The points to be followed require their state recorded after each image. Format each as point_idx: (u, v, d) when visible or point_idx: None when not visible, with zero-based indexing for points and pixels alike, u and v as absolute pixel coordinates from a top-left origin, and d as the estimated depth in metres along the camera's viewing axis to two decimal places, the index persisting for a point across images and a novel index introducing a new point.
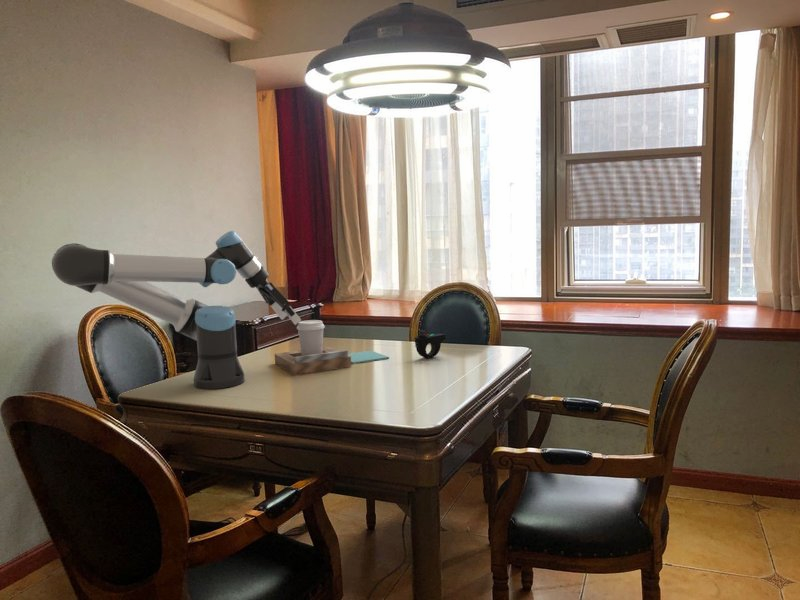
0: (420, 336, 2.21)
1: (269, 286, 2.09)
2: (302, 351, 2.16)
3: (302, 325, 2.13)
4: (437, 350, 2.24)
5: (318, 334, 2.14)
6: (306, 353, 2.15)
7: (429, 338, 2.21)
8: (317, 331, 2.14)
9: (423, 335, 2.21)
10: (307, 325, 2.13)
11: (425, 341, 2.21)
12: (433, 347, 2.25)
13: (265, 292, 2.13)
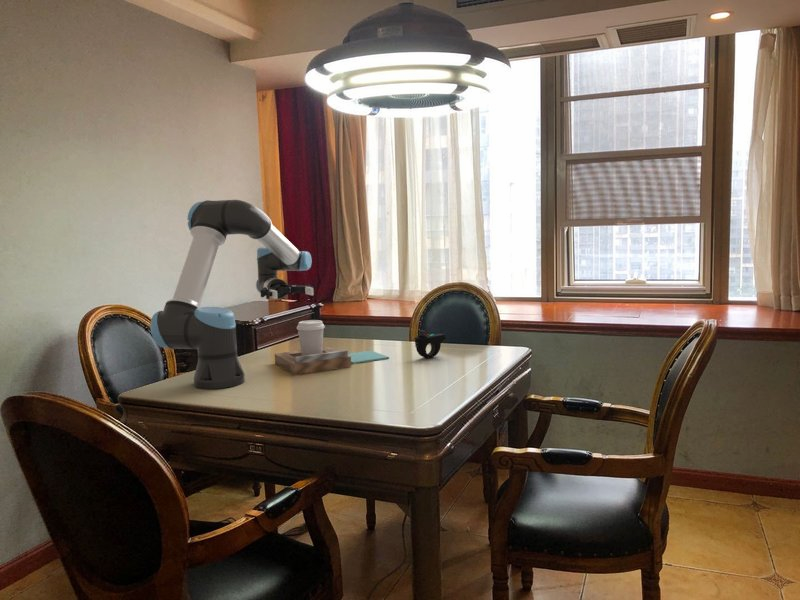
0: (420, 336, 2.21)
1: None
2: (302, 351, 2.16)
3: (302, 325, 2.13)
4: (437, 350, 2.24)
5: (318, 334, 2.14)
6: (306, 353, 2.15)
7: (429, 338, 2.21)
8: (317, 331, 2.14)
9: (423, 335, 2.21)
10: (307, 325, 2.13)
11: (425, 341, 2.21)
12: (433, 347, 2.25)
13: (288, 285, 2.41)
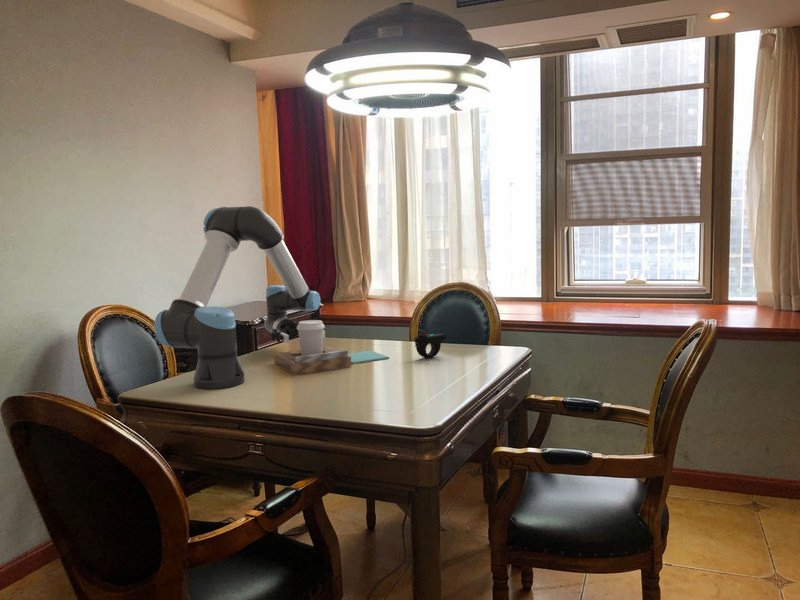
0: (420, 336, 2.21)
1: None
2: (302, 351, 2.16)
3: (302, 325, 2.13)
4: (437, 350, 2.24)
5: (318, 334, 2.14)
6: (306, 353, 2.15)
7: (429, 338, 2.21)
8: (317, 331, 2.14)
9: (423, 335, 2.21)
10: (307, 325, 2.13)
11: (425, 341, 2.21)
12: (433, 347, 2.25)
13: None
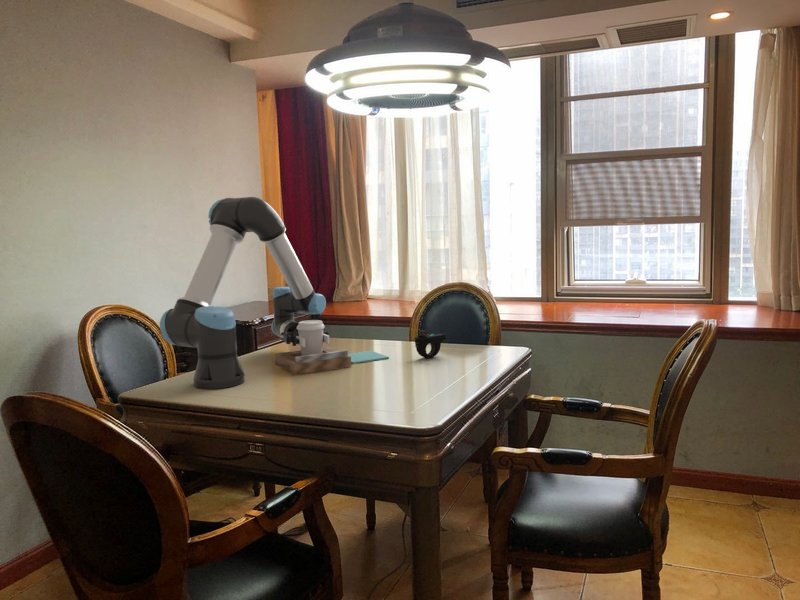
0: (420, 336, 2.21)
1: None
2: (302, 351, 2.16)
3: (302, 325, 2.13)
4: (437, 350, 2.24)
5: (318, 334, 2.14)
6: (306, 353, 2.15)
7: (429, 338, 2.21)
8: (317, 331, 2.14)
9: (423, 335, 2.21)
10: (307, 325, 2.13)
11: (425, 341, 2.21)
12: (433, 347, 2.25)
13: None
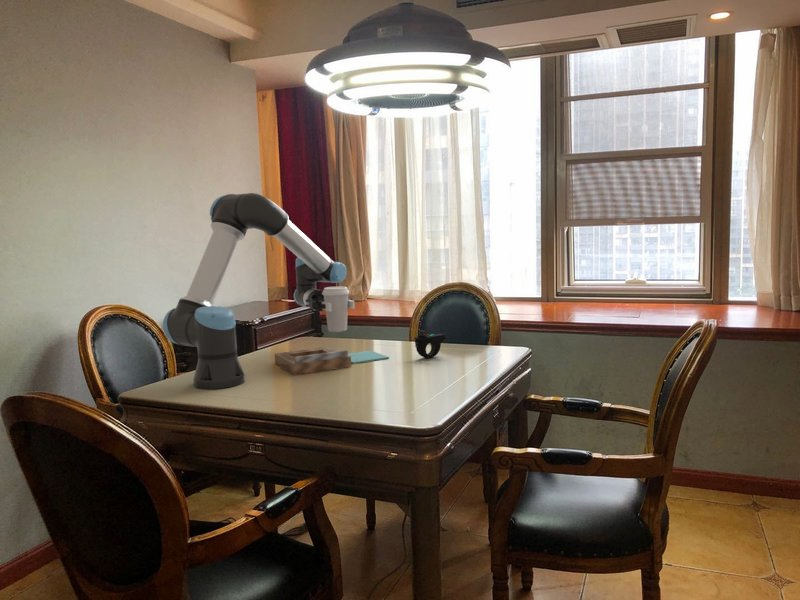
0: (420, 336, 2.21)
1: None
2: (328, 316, 2.20)
3: (328, 290, 2.18)
4: (437, 350, 2.24)
5: (343, 299, 2.19)
6: (332, 318, 2.19)
7: (429, 338, 2.21)
8: (343, 297, 2.18)
9: (423, 335, 2.21)
10: (333, 290, 2.17)
11: (425, 341, 2.21)
12: (433, 347, 2.25)
13: None
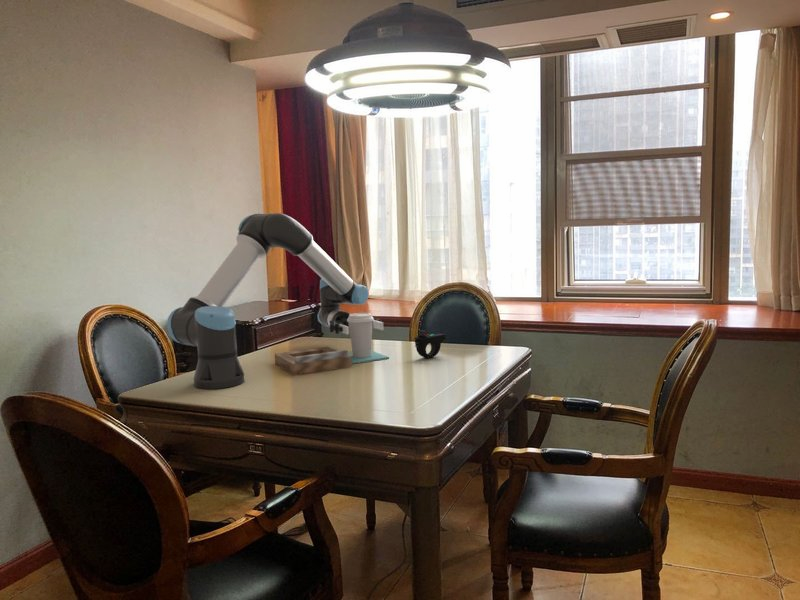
0: (420, 336, 2.21)
1: None
2: (353, 342, 2.25)
3: (353, 317, 2.22)
4: (437, 350, 2.24)
5: (368, 326, 2.23)
6: (357, 344, 2.24)
7: (429, 338, 2.21)
8: (367, 323, 2.23)
9: (423, 335, 2.21)
10: (358, 317, 2.22)
11: (425, 341, 2.21)
12: (433, 347, 2.25)
13: None
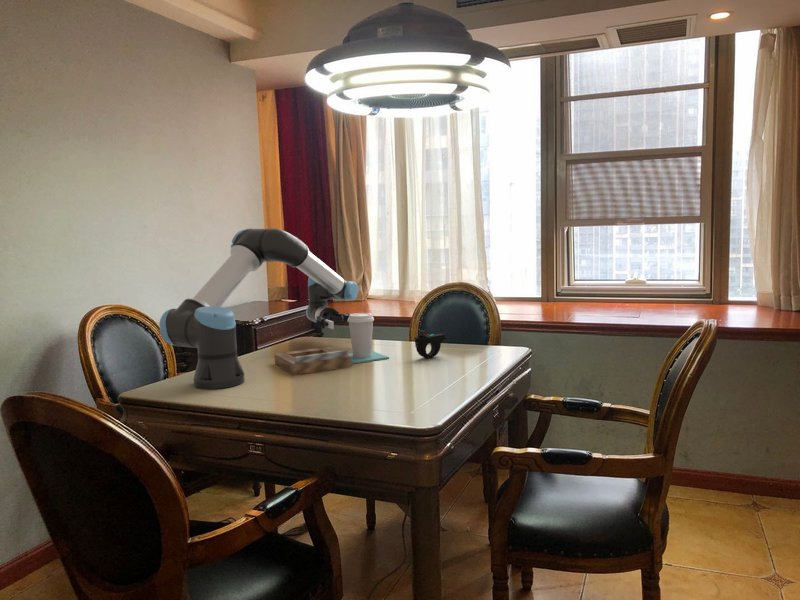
0: (420, 336, 2.21)
1: None
2: (353, 342, 2.25)
3: (353, 317, 2.22)
4: (437, 350, 2.24)
5: (368, 326, 2.23)
6: (357, 344, 2.24)
7: (429, 338, 2.21)
8: (368, 324, 2.23)
9: (423, 335, 2.21)
10: (358, 317, 2.22)
11: (425, 341, 2.21)
12: (433, 347, 2.25)
13: (341, 314, 2.48)
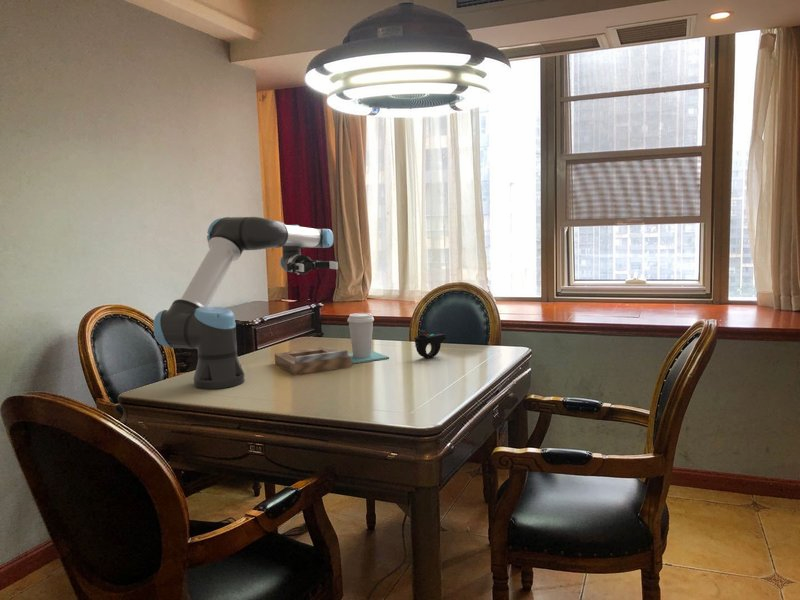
0: (420, 336, 2.21)
1: None
2: (353, 342, 2.25)
3: (353, 317, 2.22)
4: (437, 350, 2.24)
5: (368, 326, 2.23)
6: (357, 344, 2.24)
7: (429, 338, 2.21)
8: (368, 324, 2.23)
9: (423, 335, 2.21)
10: (358, 317, 2.22)
11: (425, 341, 2.21)
12: (433, 347, 2.25)
13: None
